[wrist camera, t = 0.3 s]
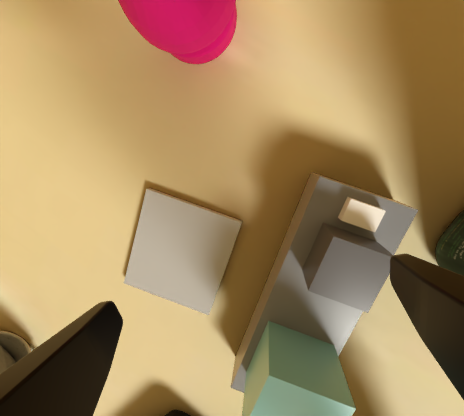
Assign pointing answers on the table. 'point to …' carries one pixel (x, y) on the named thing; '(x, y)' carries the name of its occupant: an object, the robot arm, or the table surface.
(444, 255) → the coffee jar
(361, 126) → the table surface
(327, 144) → the table surface
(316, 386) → the green block
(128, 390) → the table surface
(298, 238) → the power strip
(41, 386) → the robot arm
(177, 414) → the egg carton
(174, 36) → the pepper mill
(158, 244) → the mat
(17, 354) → the ceramic mug
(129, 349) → the table surface
